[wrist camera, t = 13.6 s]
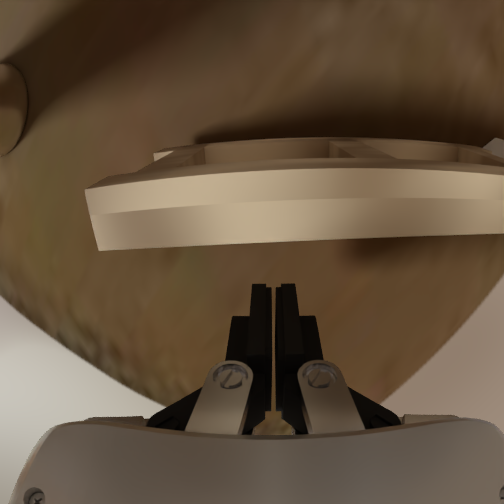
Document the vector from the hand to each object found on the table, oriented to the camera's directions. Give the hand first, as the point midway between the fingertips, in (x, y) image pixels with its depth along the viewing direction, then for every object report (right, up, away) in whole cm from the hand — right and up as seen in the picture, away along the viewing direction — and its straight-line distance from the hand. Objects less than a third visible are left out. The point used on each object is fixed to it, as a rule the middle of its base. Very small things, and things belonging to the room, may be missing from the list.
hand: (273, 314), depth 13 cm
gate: (+3, +7, +1) cm, 7 cm away
